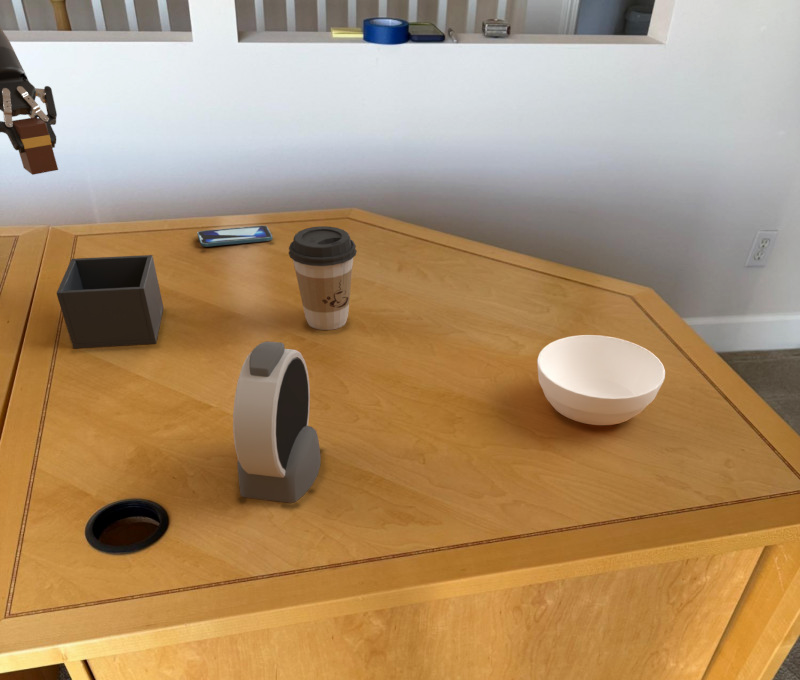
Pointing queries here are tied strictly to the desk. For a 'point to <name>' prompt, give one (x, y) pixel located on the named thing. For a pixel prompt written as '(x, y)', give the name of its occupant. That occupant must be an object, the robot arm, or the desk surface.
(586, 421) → the bowl
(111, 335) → the trash bin
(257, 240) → the smartphone
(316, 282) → the coffee cup
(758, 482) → the desk surface
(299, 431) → the alarm clock
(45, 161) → the chocolate box
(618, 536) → the desk surface
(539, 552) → the desk surface
